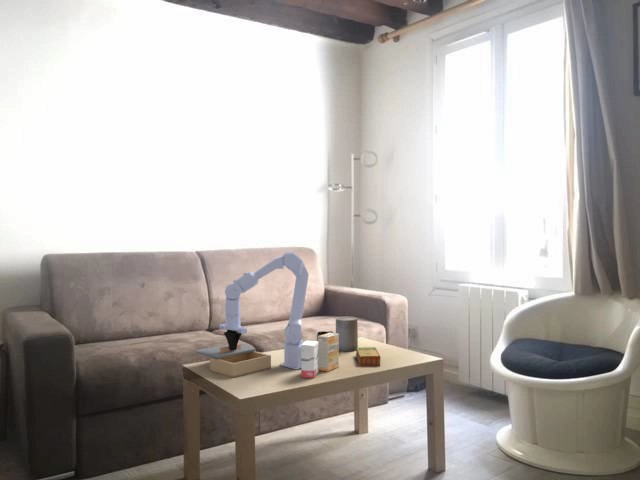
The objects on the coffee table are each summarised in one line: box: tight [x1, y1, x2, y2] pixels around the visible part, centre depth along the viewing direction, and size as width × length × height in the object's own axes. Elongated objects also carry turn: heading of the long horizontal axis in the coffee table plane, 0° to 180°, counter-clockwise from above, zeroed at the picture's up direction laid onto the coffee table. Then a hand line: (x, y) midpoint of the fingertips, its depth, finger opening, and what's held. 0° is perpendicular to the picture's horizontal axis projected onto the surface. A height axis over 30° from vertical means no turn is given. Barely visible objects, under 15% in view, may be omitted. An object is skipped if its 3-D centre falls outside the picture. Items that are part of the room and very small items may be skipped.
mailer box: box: [209, 351, 272, 379], centre depth 211 cm, size 14×18×5 cm
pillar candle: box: [335, 315, 359, 352], centre depth 246 cm, size 10×10×15 cm
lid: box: [194, 343, 257, 359], centre depth 217 cm, size 14×18×3 cm
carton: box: [355, 346, 381, 367], centre depth 225 cm, size 8×16×4 cm, turn 1°
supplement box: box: [318, 332, 340, 372], centre depth 212 cm, size 8×5×13 cm, turn 148°
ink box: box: [300, 339, 319, 379], centre depth 204 cm, size 9×5×12 cm, turn 168°
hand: (233, 350), depth 214 cm, fingers closed
